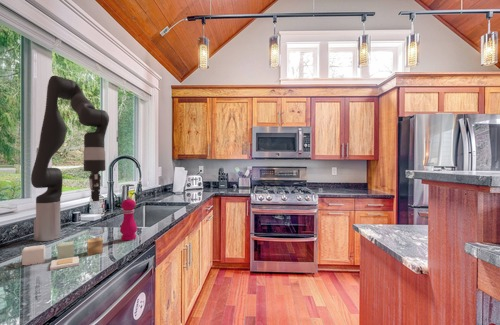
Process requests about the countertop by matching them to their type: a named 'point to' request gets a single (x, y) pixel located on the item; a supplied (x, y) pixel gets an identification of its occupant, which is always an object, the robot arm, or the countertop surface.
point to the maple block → (94, 246)
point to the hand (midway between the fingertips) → (95, 200)
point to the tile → (64, 263)
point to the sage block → (65, 250)
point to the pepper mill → (128, 220)
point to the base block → (33, 255)
